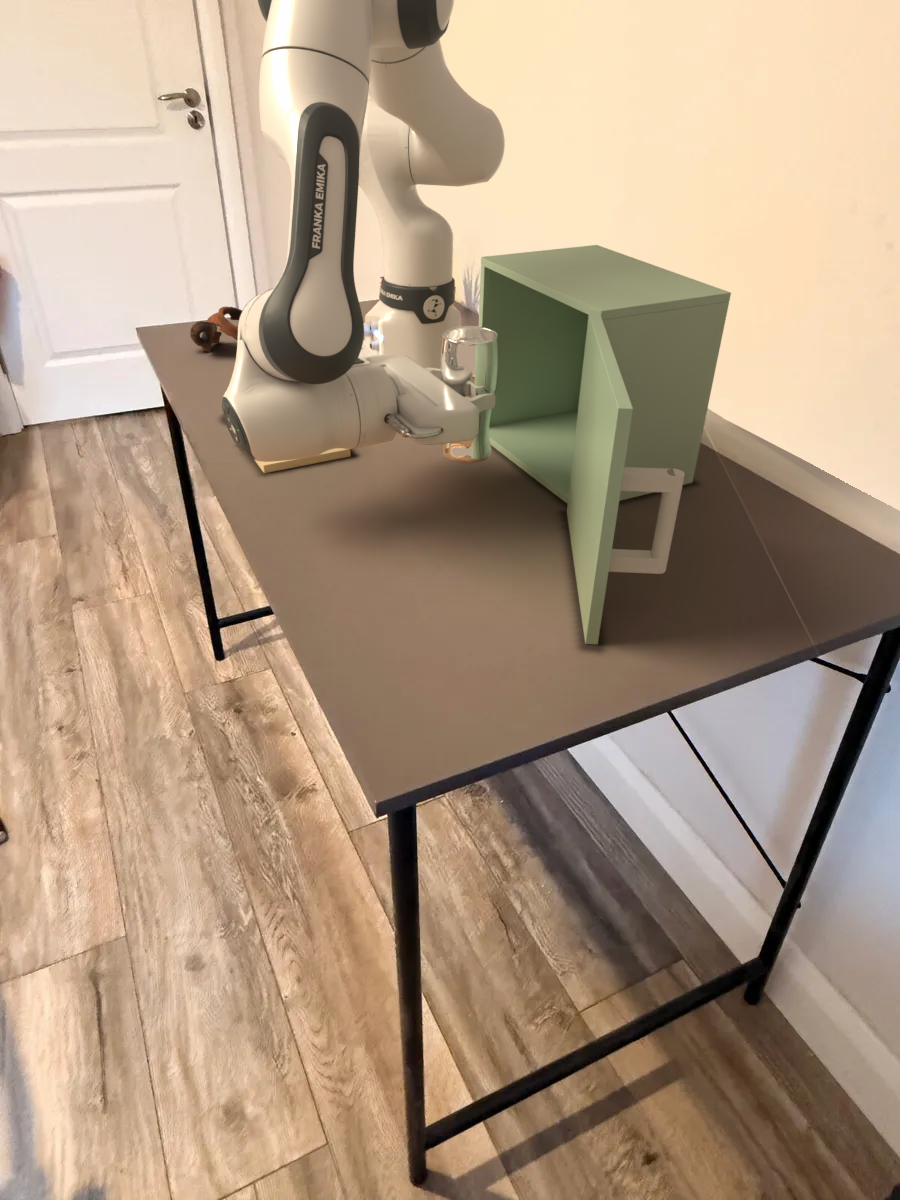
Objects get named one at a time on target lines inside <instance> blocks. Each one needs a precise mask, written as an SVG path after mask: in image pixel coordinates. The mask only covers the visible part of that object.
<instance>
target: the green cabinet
mask: <svg viewBox="0 0 900 1200" xmlns="http://www.w3.org/2000/svg"><path fill="white" fill-rule="evenodd" d="M479 276H480V278H479V303H478V327H485V328H489V329H492V330H494V331H496V332H497V333H498V334H499V377H498V385H497V391H496V395H495V406H494V408H493V409H492V413H491V417H490V423H489V439H490V446H491V447H493V448H494V449H496V450H497V451H498V452H500V454H502V455H503V456H504V457H506V458H507V459H508V460H510V462H512V463H514V464H515V465H516V466H518V467H519V468H520V469H521V470H523V471H524V472H526V474H528V475H529V476H530V477H532V478H533V479H535V481H537V482H538V483H540V484H541V485H542V486H544V487H545V489H547V490H548V491H550V492H551V493H553V494H554V496H557V497H558V498H559V499H560V500H561V501H563V502H564V503H566V504H567V505H568V497H569V488H570V479H571V470H572V461H573V452H574V443H575V434H576V425H577V416H578V407H579V398H580V389H581V380H582V371H583V362H584V353H585V344H586V335H587V326H588V317H589V313H594V314H600V315H601V318H602V321H603V323H604V326H605V329H606V332H607V335H608V338H609V341H610V344H611V347H612V349H613V352H614V355H615V358H616V361H617V364H618V367H619V370H620V373H621V375H622V378H623V381H624V384H625V387H626V390H627V393H628V396H629V399H630V401H631V404H632V407H633V413H632V420H631V426H630V433H629V440H628V446H627V453H626V460H625V466H624V467H637V468H664V469H679V470H681V471H683V472H684V474H685V475H684V480H683V485H682V486H685V485H688V484H692V483H693V482H694V477H695V472H696V467H697V462H698V458H699V451H700V447H701V442H702V438H703V433H704V428H705V423H706V417H707V413H708V408H709V405H710V404H709V403H710V398H711V393H712V388H713V383H714V379H715V373H716V369H717V364H718V359H719V354H720V350H721V349H720V348H721V345H722V338H723V335H724V330H725V324H726V320H727V316H728V315H727V314H728V310H729V305H730V301H731V295H732V292H731V291H728V290H725V289H723V288H719V287H717V286H714V285H711V284H708V283H705V282H703V281H700V280H697V279H694V278H691V277H688V276H686V275H683V274H680V273H677V272H674V271H672V270H668V269H665V268H663V267H660V266H657V265H655V264H652V263H649V262H646V261H643V260H641V259H637V258H635V257H633V256H629V255H627V254H624V253H621V252H619V251H615V250H612V249H609V248H607V247H604V246H601V245H598V244H592V245H581V246H573V247H563V248H554V249H543V250H535V251H534V250H533V251H523V252H514V253H507V254H505V253H504V254H495V255H487V256H480V275H479ZM653 493H654V492H639V491H621V493H620V500H619V502H621V501H625V500H628V499H632V498H637V497H640V496H644V495H649V494H653Z"/></svg>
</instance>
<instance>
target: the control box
mask: <svg viewBox="0 0 900 1200" xmlns="http://www.w3.org/2000/svg"><path fill="white" fill-rule="evenodd" d="M351 455H352V453H351V449H343V448H334V449H330V450H327V451H325V452H323V453H322V454H319V455H316V456H312V457H306V458H300V459H293V460H285V461H273V462H262V461H256V460H254V462H255V463H256V465H258V467H259V468H260V470H261V471H262V473H264V474H267V473H272V472H278V471H283V470H288V469H293V468H298V467H303V466H308V465H313V464H319V463H323V462H324V463H325V462H328V461H335V460H338V459H339V460H341V459H344V458H349V457H350V458H351Z"/></svg>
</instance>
